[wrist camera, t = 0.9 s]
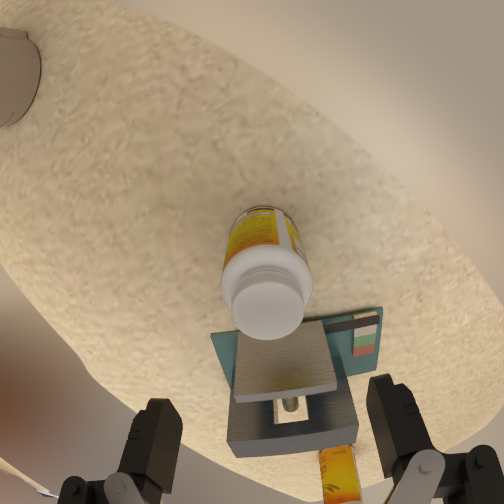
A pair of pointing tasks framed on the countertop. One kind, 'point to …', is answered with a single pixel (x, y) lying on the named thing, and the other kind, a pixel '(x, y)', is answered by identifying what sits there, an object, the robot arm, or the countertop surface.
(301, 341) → the grey plate with rod
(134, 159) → the countertop surface
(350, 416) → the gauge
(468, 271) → the countertop surface
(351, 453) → the beer can
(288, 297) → the supplement bottle
